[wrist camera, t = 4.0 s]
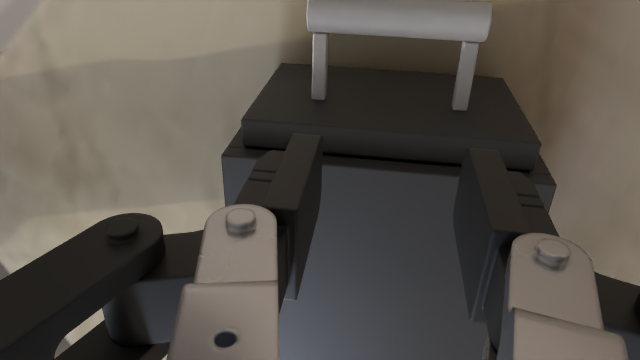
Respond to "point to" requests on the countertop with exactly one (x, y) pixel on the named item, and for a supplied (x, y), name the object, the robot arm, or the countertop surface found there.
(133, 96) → the countertop surface
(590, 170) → the countertop surface
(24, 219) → the countertop surface
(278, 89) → the open drawer cabinet
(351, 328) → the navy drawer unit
